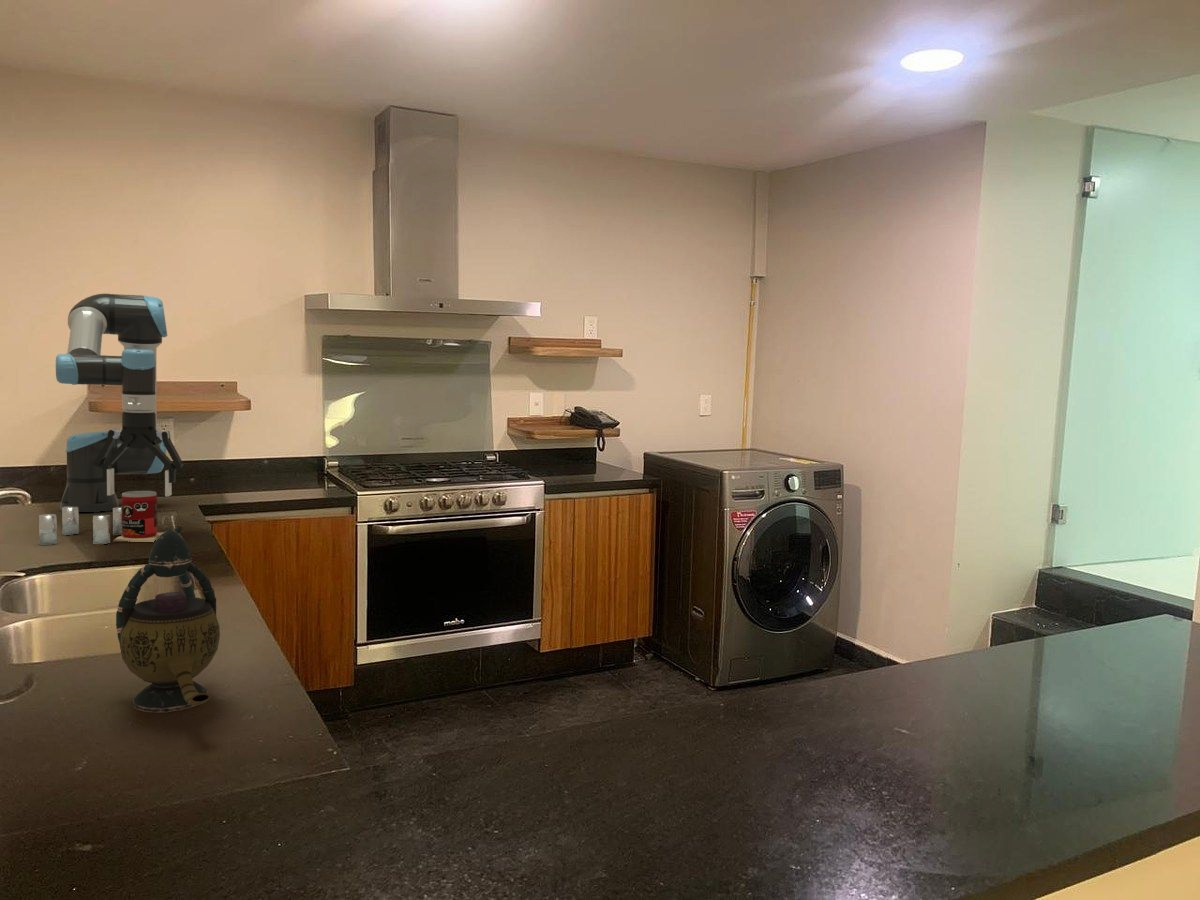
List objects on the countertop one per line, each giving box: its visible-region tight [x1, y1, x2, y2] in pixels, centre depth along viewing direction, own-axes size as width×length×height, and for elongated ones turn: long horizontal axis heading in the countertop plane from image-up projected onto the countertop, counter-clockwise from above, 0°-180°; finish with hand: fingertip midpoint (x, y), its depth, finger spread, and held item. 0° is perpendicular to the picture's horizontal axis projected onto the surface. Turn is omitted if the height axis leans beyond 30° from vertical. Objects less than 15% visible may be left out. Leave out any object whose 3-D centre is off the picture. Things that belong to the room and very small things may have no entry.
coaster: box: [113, 531, 165, 543], centre depth 225 cm, size 10×9×1 cm
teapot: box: [115, 526, 221, 713], centre depth 115 cm, size 12×25×23 cm, turn 37°
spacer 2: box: [61, 506, 80, 536], centre depth 228 cm, size 4×4×7 cm
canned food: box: [121, 490, 158, 538], centre depth 225 cm, size 8×8×11 cm
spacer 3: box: [92, 514, 111, 544], centre depth 217 cm, size 4×4×7 cm
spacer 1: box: [38, 513, 58, 546], centre depth 215 cm, size 4×4×7 cm
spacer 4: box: [112, 506, 122, 535], centre depth 230 cm, size 4×4×7 cm
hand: (139, 495), depth 225 cm, fingers open, 13 cm apart
